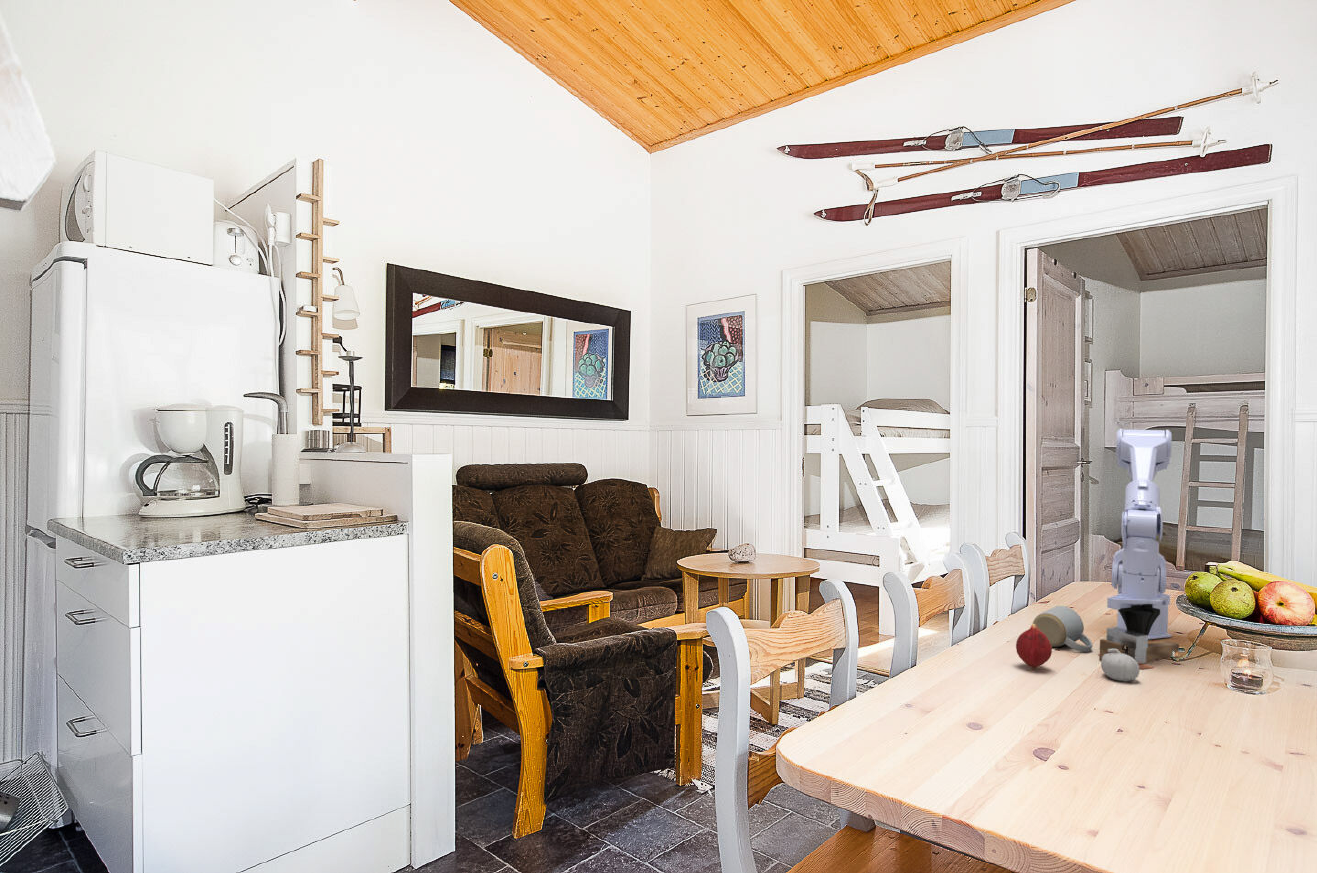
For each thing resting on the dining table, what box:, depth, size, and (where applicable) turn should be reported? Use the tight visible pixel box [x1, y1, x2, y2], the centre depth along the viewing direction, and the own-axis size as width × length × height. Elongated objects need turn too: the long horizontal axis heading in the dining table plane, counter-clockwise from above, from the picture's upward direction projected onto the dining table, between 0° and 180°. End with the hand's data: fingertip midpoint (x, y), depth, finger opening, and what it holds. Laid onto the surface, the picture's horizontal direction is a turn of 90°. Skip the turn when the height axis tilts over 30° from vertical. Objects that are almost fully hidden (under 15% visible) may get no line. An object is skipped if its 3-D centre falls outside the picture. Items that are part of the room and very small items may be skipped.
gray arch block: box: [1105, 626, 1149, 664], centre depth 143 cm, size 3×6×5 cm, turn 22°
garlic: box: [1100, 649, 1140, 682], centre depth 133 cm, size 6×5×5 cm
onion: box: [1015, 623, 1053, 670], centre depth 137 cm, size 6×6×8 cm
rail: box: [1097, 638, 1180, 670], centre depth 145 cm, size 18×9×4 cm, turn 112°
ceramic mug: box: [1032, 605, 1094, 653], centre depth 152 cm, size 10×8×7 cm
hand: (1137, 644), depth 144 cm, fingers closed
